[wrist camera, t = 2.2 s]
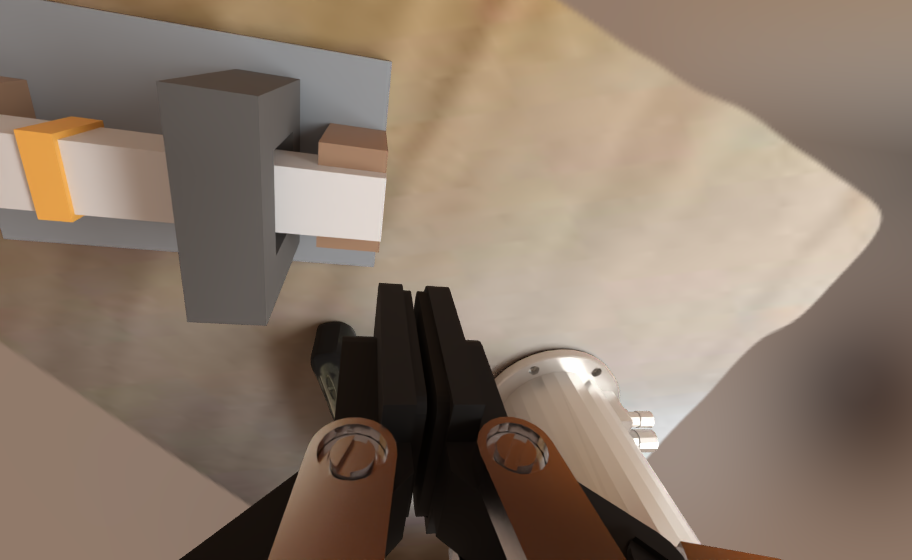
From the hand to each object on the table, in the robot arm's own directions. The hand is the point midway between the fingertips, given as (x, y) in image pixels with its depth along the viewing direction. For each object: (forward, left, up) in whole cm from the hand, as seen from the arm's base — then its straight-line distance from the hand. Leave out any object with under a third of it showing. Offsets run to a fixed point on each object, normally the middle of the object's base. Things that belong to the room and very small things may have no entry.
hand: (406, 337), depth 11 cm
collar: (+6, 0, -16) cm, 18 cm away
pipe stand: (+10, 0, -19) cm, 21 cm away
